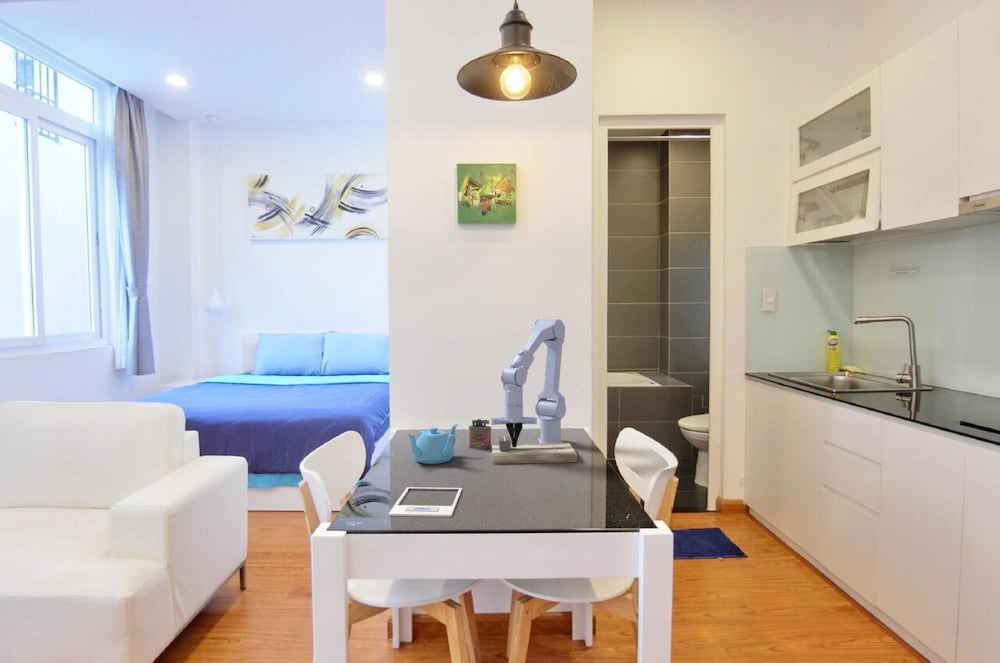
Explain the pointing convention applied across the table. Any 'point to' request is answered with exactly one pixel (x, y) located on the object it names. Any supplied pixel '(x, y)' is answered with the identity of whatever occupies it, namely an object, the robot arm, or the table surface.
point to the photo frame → (424, 510)
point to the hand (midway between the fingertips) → (514, 446)
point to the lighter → (480, 435)
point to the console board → (534, 453)
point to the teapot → (433, 446)
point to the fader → (504, 443)
